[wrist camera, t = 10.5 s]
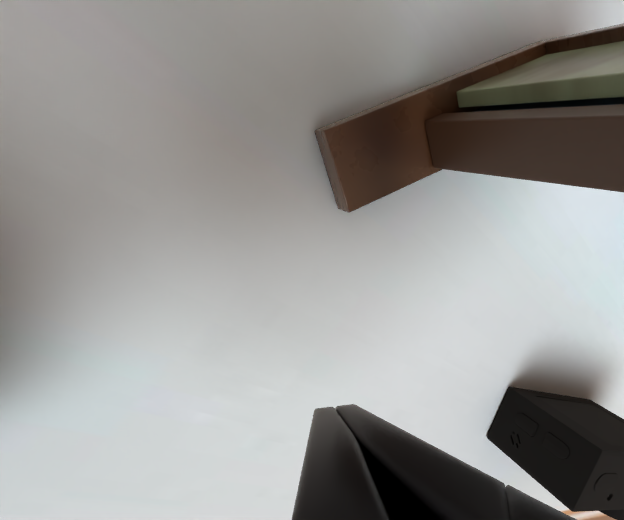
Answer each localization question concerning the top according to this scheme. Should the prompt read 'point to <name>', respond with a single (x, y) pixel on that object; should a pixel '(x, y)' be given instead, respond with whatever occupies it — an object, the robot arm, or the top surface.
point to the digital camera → (565, 447)
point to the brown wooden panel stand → (463, 110)
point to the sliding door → (536, 142)
